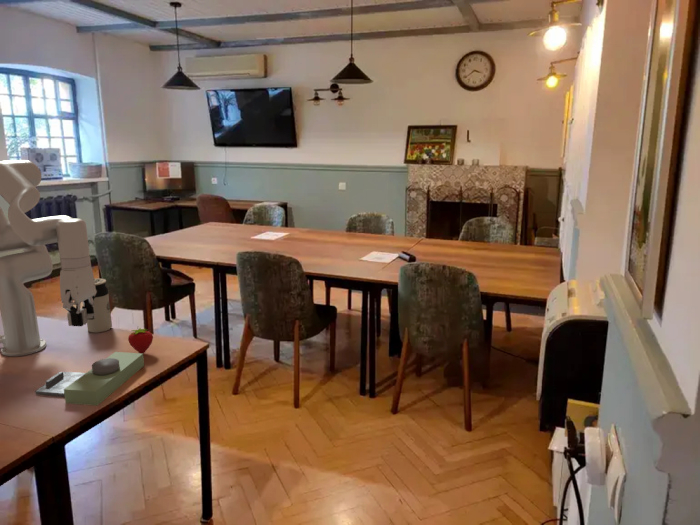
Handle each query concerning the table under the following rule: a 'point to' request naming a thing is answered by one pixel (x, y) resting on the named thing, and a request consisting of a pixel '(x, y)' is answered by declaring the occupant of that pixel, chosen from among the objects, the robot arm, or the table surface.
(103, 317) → the travel mug
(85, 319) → the usb wall charger
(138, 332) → the strawberry
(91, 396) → the green slab with knob
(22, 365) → the table surface
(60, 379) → the grey plate with ledge
